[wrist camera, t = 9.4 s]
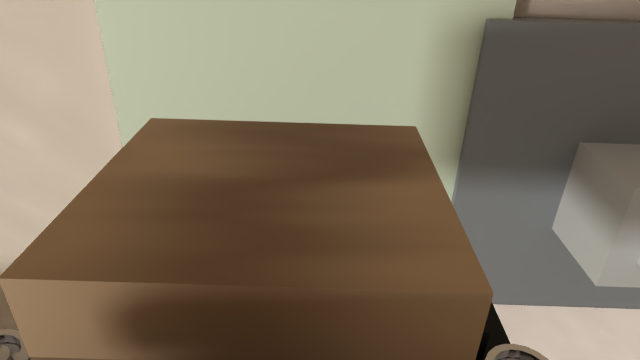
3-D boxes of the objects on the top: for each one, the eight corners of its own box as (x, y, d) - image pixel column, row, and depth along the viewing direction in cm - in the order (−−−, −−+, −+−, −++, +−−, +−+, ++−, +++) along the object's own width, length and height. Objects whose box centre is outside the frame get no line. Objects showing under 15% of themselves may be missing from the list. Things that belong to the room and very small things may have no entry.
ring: (415, 126, 11) (493, 293, 6) (389, 320, 14) (425, 541, 9) (150, 118, 11) (-4, 278, 6) (181, 313, 14) (98, 531, 9)
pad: (525, -70, 17) (531, -71, 16) (452, 275, 24) (455, 282, 24) (85, -84, 17) (77, -85, 16) (150, 265, 24) (146, 272, 24)
